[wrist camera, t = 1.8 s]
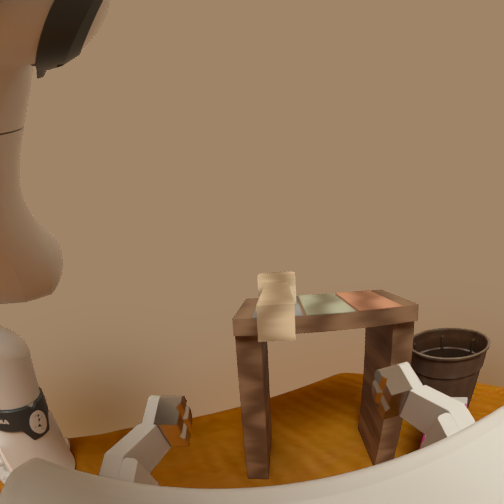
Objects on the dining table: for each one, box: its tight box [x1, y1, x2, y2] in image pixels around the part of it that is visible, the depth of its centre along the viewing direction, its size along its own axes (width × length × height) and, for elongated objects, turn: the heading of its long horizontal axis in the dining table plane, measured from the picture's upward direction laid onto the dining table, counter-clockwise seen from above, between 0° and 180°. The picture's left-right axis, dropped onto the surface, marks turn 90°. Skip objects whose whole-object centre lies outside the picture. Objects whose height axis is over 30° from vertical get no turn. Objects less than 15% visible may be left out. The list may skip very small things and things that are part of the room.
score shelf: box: [233, 290, 418, 479], centre depth 38 cm, size 22×14×26 cm, turn 85°
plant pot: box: [411, 328, 490, 409], centre depth 40 cm, size 16×16×16 cm
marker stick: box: [256, 271, 296, 342], centre depth 33 cm, size 5×21×4 cm, turn 175°
